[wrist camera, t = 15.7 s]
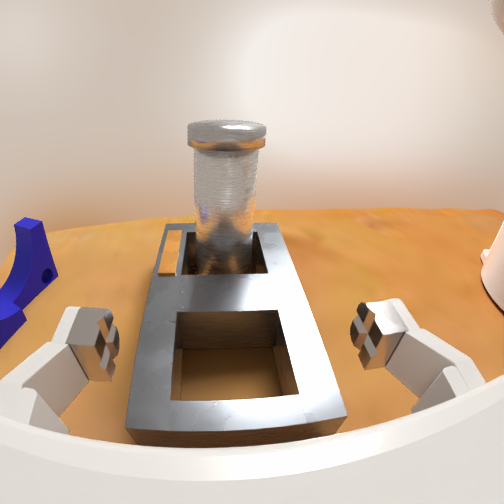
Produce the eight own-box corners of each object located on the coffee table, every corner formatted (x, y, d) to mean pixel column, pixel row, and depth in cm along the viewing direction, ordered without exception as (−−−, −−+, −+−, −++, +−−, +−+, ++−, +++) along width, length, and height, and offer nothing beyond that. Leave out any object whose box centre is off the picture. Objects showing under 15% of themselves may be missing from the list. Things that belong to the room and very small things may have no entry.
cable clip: (-15, 368, 14) (-53, 309, 11) (-36, 345, 15) (-69, 290, 12) (68, 281, 24) (51, 223, 21) (41, 270, 25) (25, 217, 22)
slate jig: (273, 255, 29) (276, 221, 27) (328, 442, 14) (349, 413, 12) (169, 256, 28) (166, 221, 26) (143, 452, 12) (123, 425, 10)
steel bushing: (250, 268, 27) (260, 120, 20) (257, 306, 23) (273, 132, 16) (194, 269, 27) (190, 119, 20) (192, 307, 22) (183, 131, 15)
